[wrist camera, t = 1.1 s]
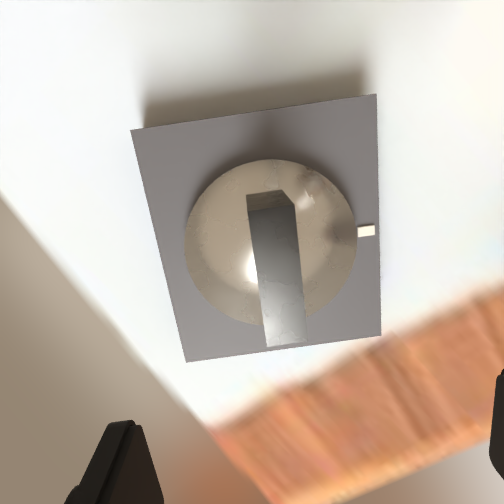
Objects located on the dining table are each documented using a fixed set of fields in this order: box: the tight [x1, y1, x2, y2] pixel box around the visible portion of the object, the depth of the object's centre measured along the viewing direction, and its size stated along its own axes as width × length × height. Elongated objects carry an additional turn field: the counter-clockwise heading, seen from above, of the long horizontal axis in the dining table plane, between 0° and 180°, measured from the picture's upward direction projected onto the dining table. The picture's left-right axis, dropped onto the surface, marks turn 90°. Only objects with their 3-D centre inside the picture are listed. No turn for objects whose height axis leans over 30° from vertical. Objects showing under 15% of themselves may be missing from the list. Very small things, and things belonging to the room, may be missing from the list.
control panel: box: [130, 94, 381, 363], centre depth 26 cm, size 18×16×3 cm
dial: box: [184, 159, 357, 347], centre depth 21 cm, size 12×12×6 cm
